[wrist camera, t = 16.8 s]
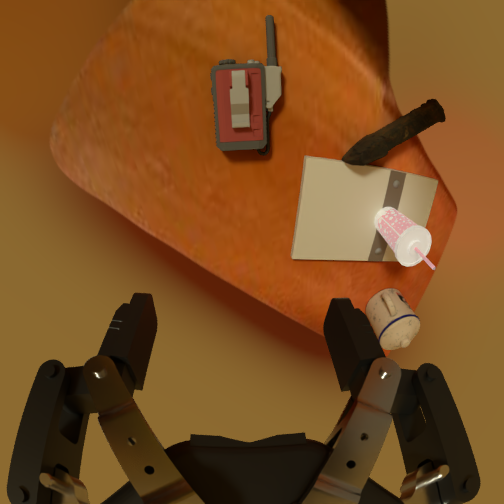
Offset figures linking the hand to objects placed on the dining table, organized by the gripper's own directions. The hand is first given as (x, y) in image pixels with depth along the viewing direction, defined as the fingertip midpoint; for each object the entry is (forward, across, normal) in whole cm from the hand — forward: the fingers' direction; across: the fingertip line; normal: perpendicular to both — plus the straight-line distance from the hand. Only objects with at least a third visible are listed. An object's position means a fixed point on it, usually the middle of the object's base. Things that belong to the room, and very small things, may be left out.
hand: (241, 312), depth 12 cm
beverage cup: (+27, -24, +6) cm, 37 cm away
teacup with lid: (+28, -30, +24) cm, 48 cm away
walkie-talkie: (+29, 0, -12) cm, 31 cm away
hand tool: (+29, -22, -8) cm, 37 cm away
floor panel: (+28, -21, +6) cm, 36 cm away
